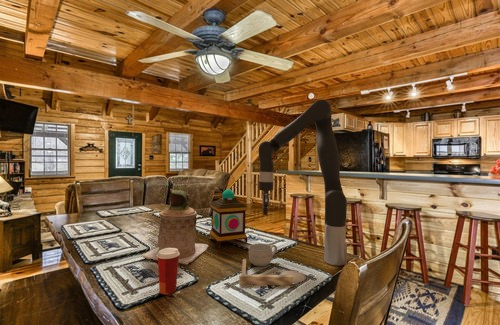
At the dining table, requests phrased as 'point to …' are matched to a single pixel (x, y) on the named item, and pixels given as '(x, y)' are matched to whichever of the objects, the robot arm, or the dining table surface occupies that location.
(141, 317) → the dining table surface
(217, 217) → the decorative lantern
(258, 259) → the teacup
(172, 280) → the paper cup
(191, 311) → the dining table surface
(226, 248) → the dining table surface
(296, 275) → the felt coaster
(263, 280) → the cup rest
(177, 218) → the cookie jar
